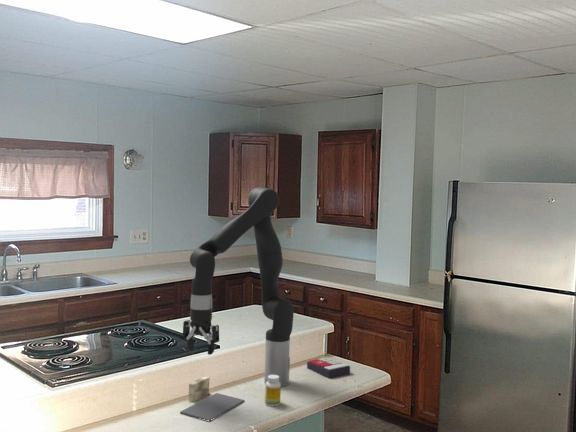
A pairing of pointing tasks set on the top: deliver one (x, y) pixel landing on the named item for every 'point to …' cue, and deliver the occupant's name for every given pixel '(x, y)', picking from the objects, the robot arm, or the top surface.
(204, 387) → the wooden block
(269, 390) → the supplement bottle
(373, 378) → the top surface
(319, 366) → the red and black box
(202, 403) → the mat
